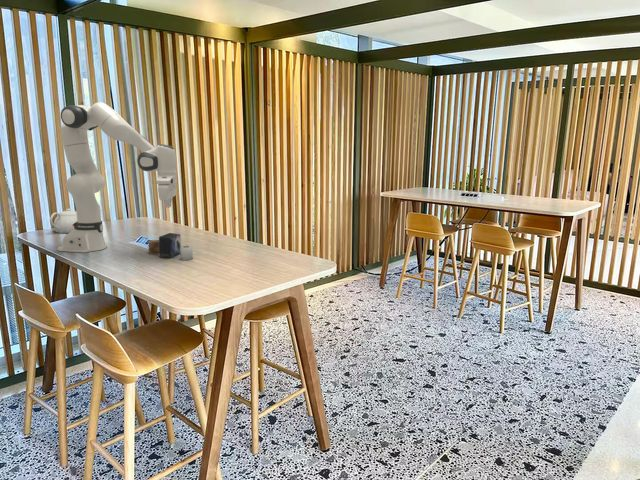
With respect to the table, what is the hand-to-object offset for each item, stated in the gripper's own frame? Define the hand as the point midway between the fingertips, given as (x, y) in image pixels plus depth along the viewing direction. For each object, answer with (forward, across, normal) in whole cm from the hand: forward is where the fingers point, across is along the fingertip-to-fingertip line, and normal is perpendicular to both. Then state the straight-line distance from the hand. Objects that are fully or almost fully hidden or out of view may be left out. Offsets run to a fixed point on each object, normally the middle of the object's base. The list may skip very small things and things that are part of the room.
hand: (168, 207), depth 224 cm
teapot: (+24, -56, -72) cm, 94 cm away
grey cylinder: (+24, +6, +9) cm, 27 cm away
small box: (+25, 0, 0) cm, 25 cm away
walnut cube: (+24, -6, -9) cm, 27 cm away
